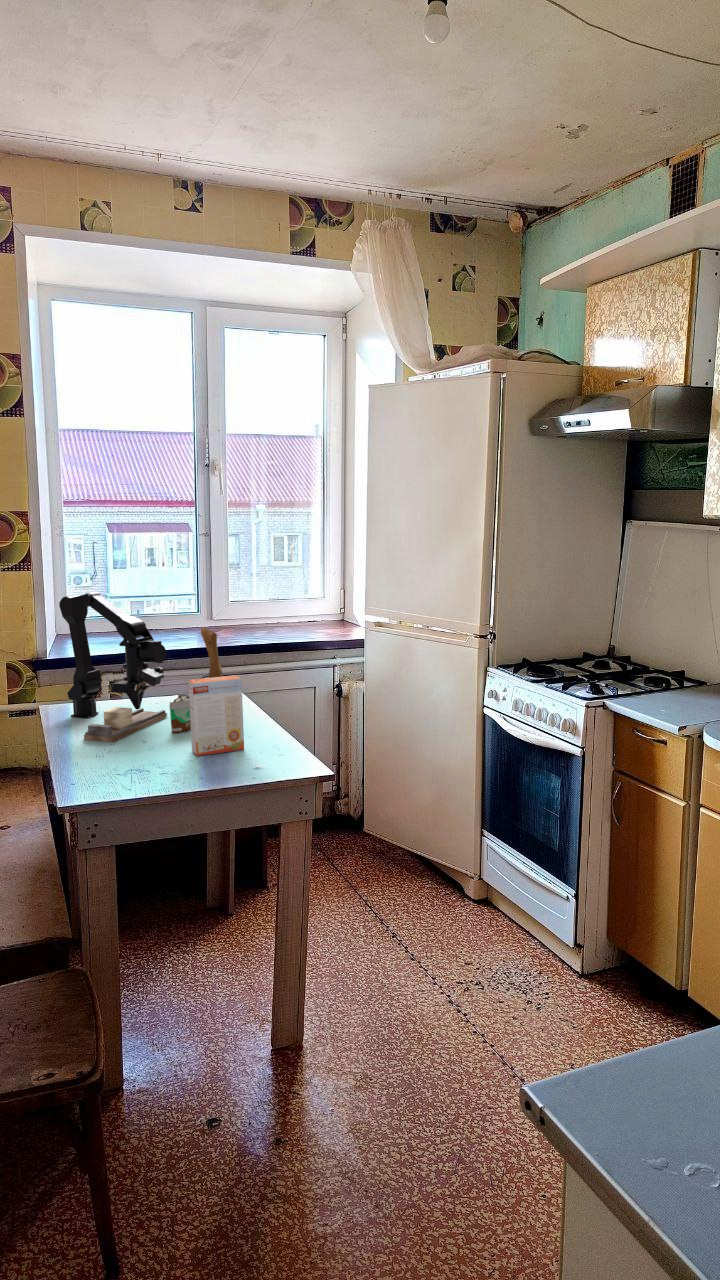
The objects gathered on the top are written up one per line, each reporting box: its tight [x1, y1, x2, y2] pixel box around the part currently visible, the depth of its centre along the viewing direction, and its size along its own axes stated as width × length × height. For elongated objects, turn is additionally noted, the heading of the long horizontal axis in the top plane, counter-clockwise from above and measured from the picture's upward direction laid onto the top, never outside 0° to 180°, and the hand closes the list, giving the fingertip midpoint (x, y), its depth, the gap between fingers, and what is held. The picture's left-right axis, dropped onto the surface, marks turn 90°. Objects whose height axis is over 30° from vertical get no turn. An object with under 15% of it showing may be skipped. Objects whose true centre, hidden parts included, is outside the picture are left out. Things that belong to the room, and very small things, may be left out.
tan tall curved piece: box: [200, 626, 224, 678], centre depth 285 cm, size 7×19×28 cm, turn 16°
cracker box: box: [188, 674, 245, 757], centre depth 242 cm, size 14×6×21 cm, turn 114°
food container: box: [169, 693, 191, 735], centre depth 265 cm, size 12×6×10 cm, turn 179°
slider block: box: [103, 706, 133, 729], centre depth 263 cm, size 6×6×5 cm
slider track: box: [83, 707, 168, 744], centre depth 267 cm, size 10×30×4 cm, turn 162°
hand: (137, 709), depth 272 cm, fingers closed
